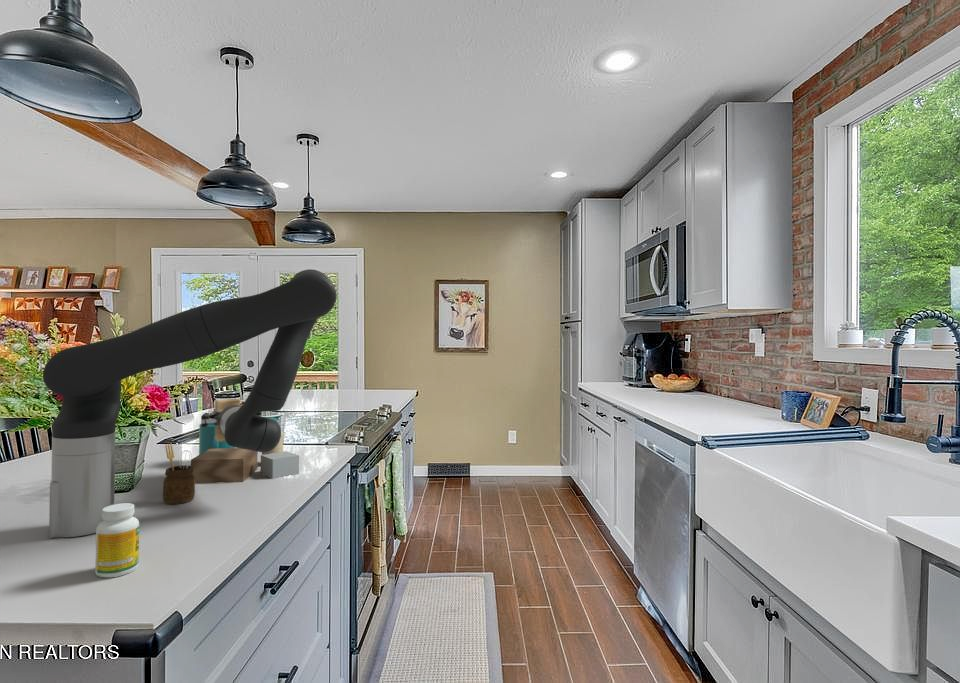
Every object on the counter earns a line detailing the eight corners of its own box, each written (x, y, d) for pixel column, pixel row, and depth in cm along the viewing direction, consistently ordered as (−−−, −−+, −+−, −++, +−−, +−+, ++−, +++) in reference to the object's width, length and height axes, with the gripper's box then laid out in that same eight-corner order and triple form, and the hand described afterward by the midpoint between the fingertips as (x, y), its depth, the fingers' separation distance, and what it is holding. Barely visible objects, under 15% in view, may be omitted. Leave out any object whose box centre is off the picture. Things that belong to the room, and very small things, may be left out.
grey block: (272, 479, 132) (272, 459, 132) (260, 474, 136) (260, 455, 136) (298, 474, 137) (299, 455, 137) (286, 469, 142) (286, 451, 142)
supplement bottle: (91, 570, 79) (92, 506, 79) (133, 560, 83) (134, 499, 83) (100, 582, 75) (101, 515, 75) (143, 570, 79) (144, 507, 79)
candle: (275, 466, 144) (275, 430, 144) (257, 465, 145) (257, 429, 145) (286, 462, 149) (287, 427, 149) (269, 461, 150) (269, 426, 150)
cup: (196, 471, 138) (196, 428, 138) (200, 461, 149) (201, 421, 149) (234, 468, 142) (234, 426, 142) (235, 458, 153) (236, 420, 153)
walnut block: (190, 484, 126) (190, 459, 126) (209, 471, 139) (209, 448, 139) (243, 483, 128) (243, 458, 128) (257, 470, 141) (257, 447, 141)
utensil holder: (177, 506, 109) (178, 448, 109) (155, 502, 111) (155, 446, 111) (201, 498, 115) (201, 443, 115) (179, 495, 117) (179, 441, 117)
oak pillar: (217, 441, 130) (218, 401, 130) (214, 438, 135) (215, 399, 135) (239, 439, 133) (239, 400, 133) (236, 436, 137) (236, 398, 137)
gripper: (270, 404, 126) (254, 398, 140) (203, 408, 118) (194, 401, 132) (270, 436, 126) (254, 426, 140) (203, 442, 118) (194, 431, 132)
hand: (225, 414), depth 136 cm, fingers closed on oak pillar, 5 cm apart
